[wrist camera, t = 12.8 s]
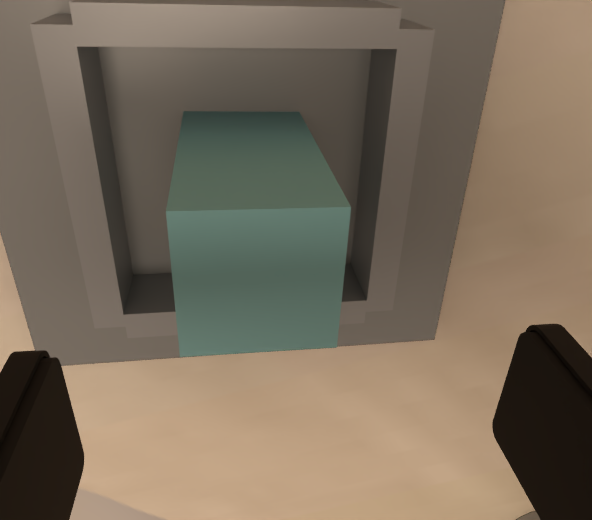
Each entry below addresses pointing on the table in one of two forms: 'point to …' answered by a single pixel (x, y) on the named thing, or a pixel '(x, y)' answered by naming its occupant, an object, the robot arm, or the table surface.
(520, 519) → the flask
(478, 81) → the well
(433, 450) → the table surface
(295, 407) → the table surface
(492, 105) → the table surface
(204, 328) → the block
